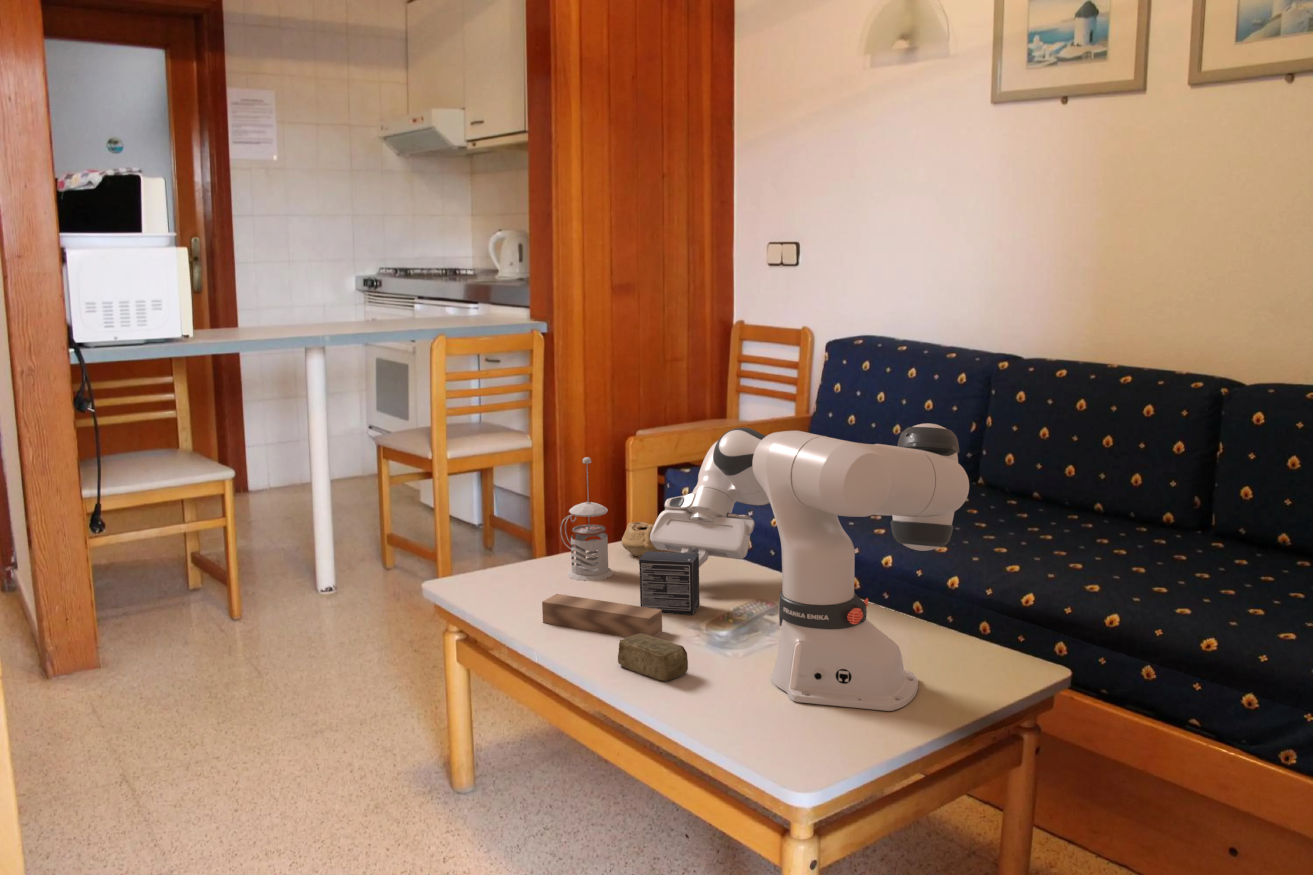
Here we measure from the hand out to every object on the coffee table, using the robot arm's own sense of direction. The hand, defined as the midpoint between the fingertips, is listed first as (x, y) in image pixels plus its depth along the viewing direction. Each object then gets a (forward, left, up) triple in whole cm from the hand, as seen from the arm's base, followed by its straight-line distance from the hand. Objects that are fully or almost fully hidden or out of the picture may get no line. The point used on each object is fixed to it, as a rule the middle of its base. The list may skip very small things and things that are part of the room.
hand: (688, 571), depth 211 cm
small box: (0, +9, -5) cm, 10 cm away
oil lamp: (+22, -22, -5) cm, 32 cm away
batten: (+7, +23, -5) cm, 24 cm away
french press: (+26, -4, -5) cm, 27 cm away
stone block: (-10, +37, -5) cm, 38 cm away
